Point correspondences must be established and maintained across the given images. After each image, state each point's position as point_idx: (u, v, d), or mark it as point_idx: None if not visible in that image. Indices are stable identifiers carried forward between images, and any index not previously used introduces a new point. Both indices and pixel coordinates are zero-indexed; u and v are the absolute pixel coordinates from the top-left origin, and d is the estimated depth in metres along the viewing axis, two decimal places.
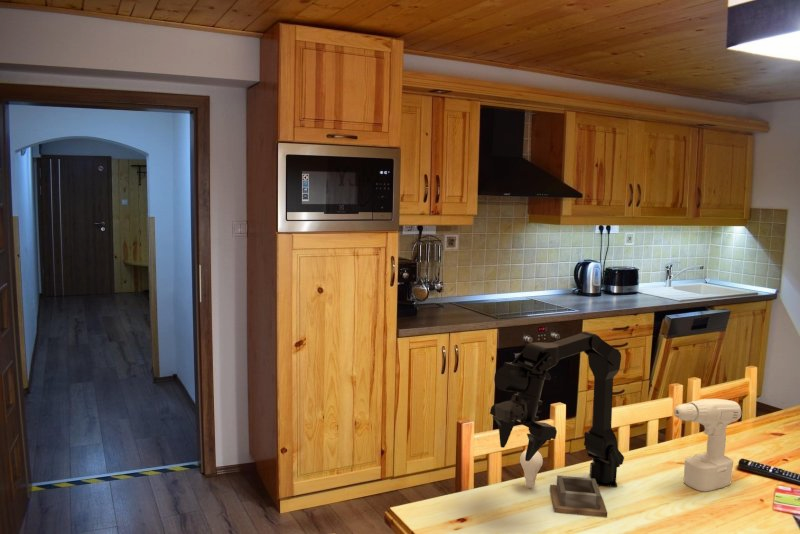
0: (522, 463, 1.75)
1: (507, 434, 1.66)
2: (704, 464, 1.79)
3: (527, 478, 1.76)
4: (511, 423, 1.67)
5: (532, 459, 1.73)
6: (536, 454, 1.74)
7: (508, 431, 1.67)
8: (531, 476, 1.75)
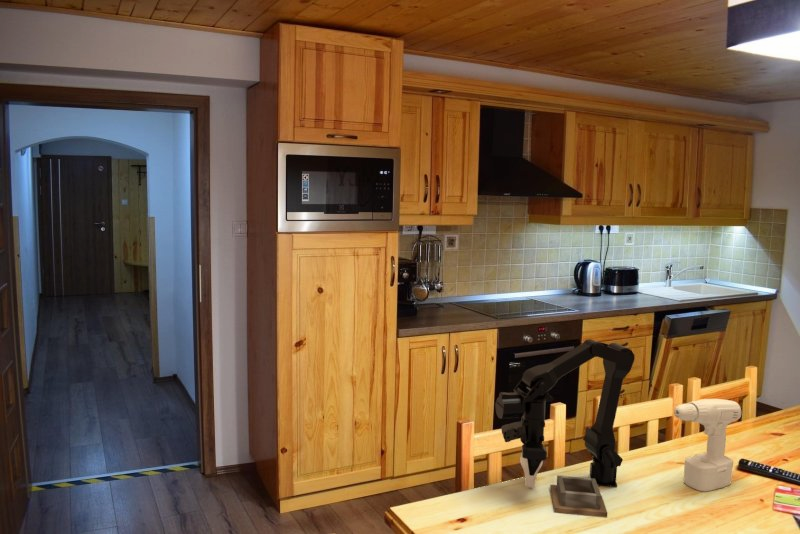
0: (522, 463, 1.75)
1: None
2: (704, 464, 1.79)
3: (527, 478, 1.76)
4: None
5: None
6: None
7: None
8: (531, 476, 1.75)
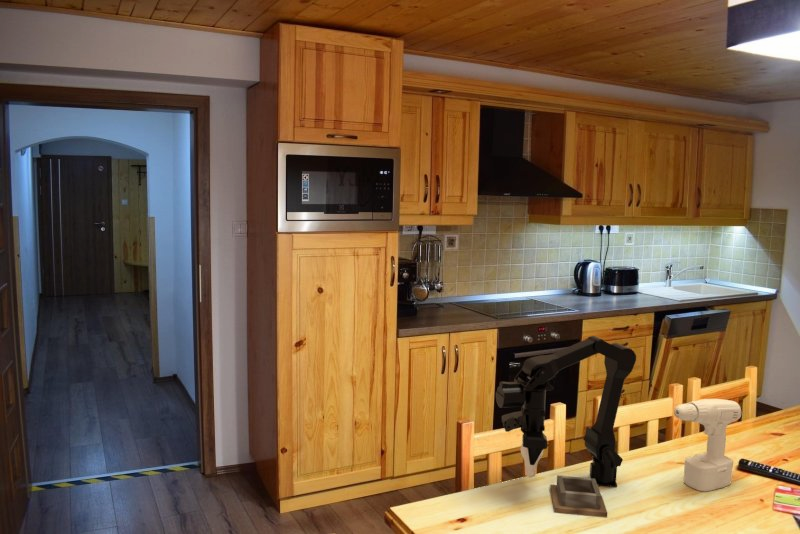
0: (522, 453, 1.75)
1: None
2: (704, 464, 1.79)
3: (527, 468, 1.75)
4: None
5: None
6: None
7: None
8: (531, 466, 1.75)
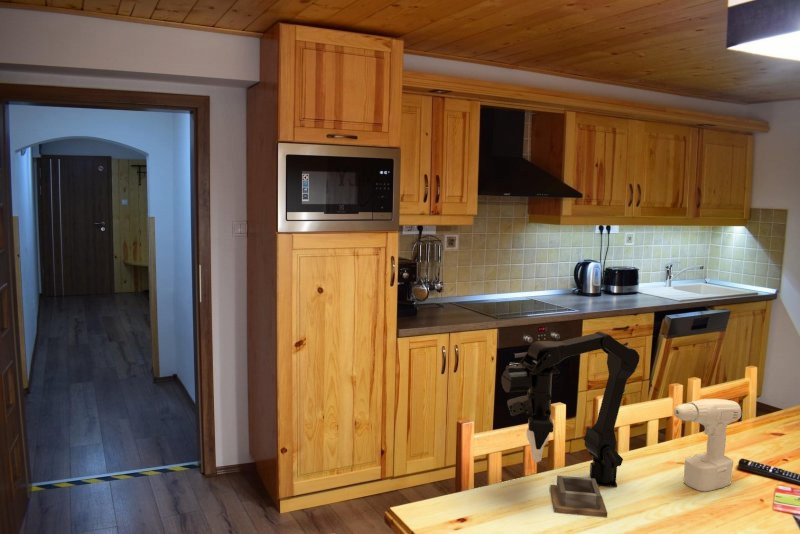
0: (528, 437, 1.73)
1: None
2: (704, 464, 1.79)
3: (534, 452, 1.74)
4: None
5: None
6: None
7: None
8: (538, 450, 1.73)
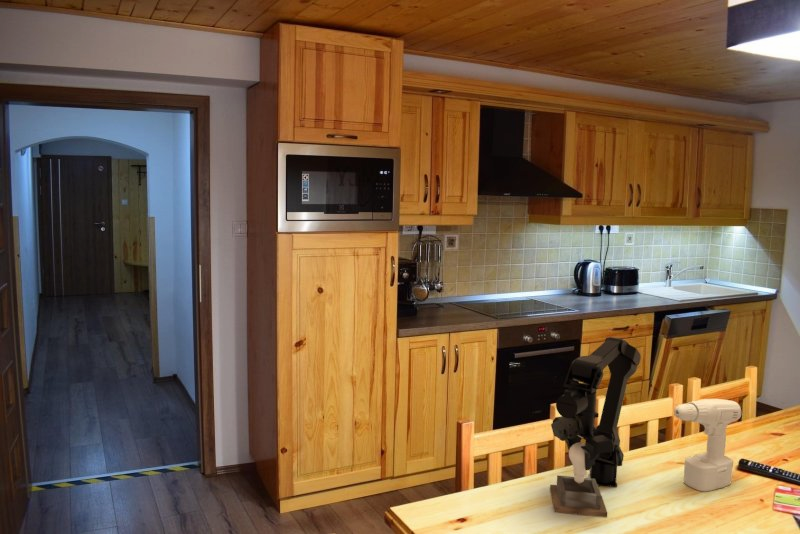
0: (576, 459, 1.66)
1: None
2: (704, 464, 1.79)
3: (579, 474, 1.67)
4: (578, 436, 1.71)
5: None
6: None
7: None
8: (584, 471, 1.67)
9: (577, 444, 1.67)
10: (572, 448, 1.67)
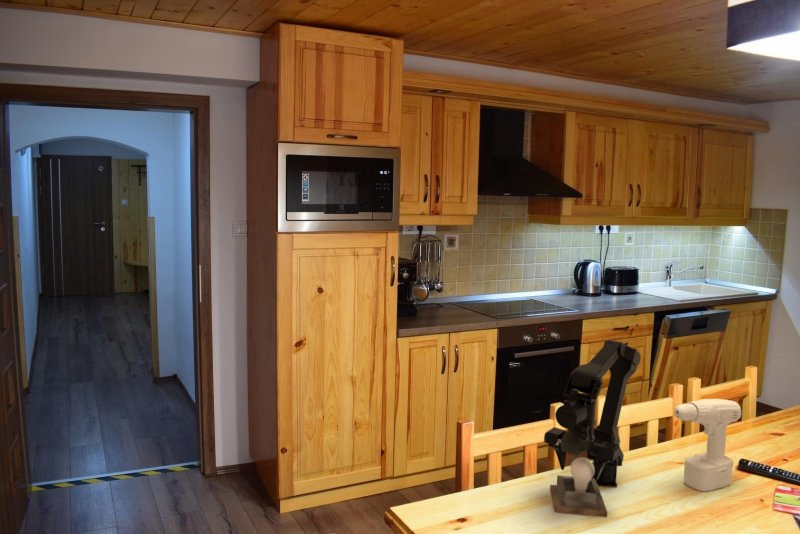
0: (584, 475, 1.66)
1: (564, 456, 1.72)
2: (704, 464, 1.79)
3: (584, 489, 1.68)
4: None
5: (593, 467, 1.67)
6: (590, 461, 1.68)
7: (564, 453, 1.72)
8: None
9: (581, 460, 1.67)
10: (577, 465, 1.67)
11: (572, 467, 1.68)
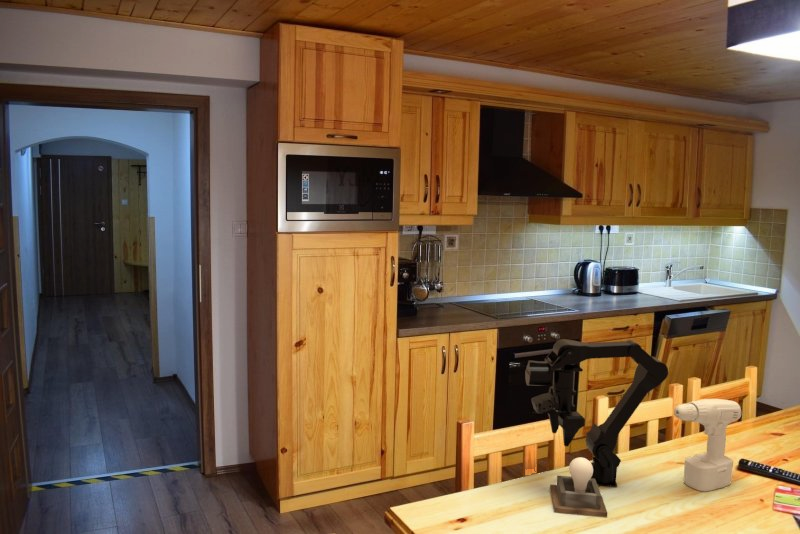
0: (583, 475, 1.66)
1: (557, 421, 1.85)
2: (704, 464, 1.79)
3: (583, 489, 1.68)
4: (560, 411, 1.85)
5: (591, 466, 1.67)
6: (588, 460, 1.68)
7: (558, 418, 1.85)
8: (586, 485, 1.68)
9: (579, 460, 1.67)
10: (576, 465, 1.67)
11: (571, 467, 1.68)
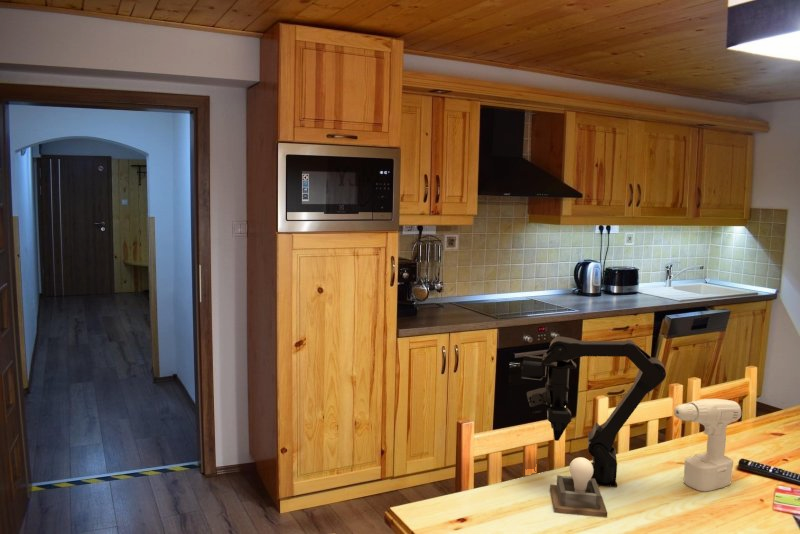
0: (583, 475, 1.66)
1: None
2: (704, 464, 1.79)
3: (583, 489, 1.68)
4: None
5: (591, 467, 1.67)
6: None
7: None
8: (586, 485, 1.68)
9: (579, 460, 1.67)
10: (576, 465, 1.67)
11: (571, 467, 1.68)
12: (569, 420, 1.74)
